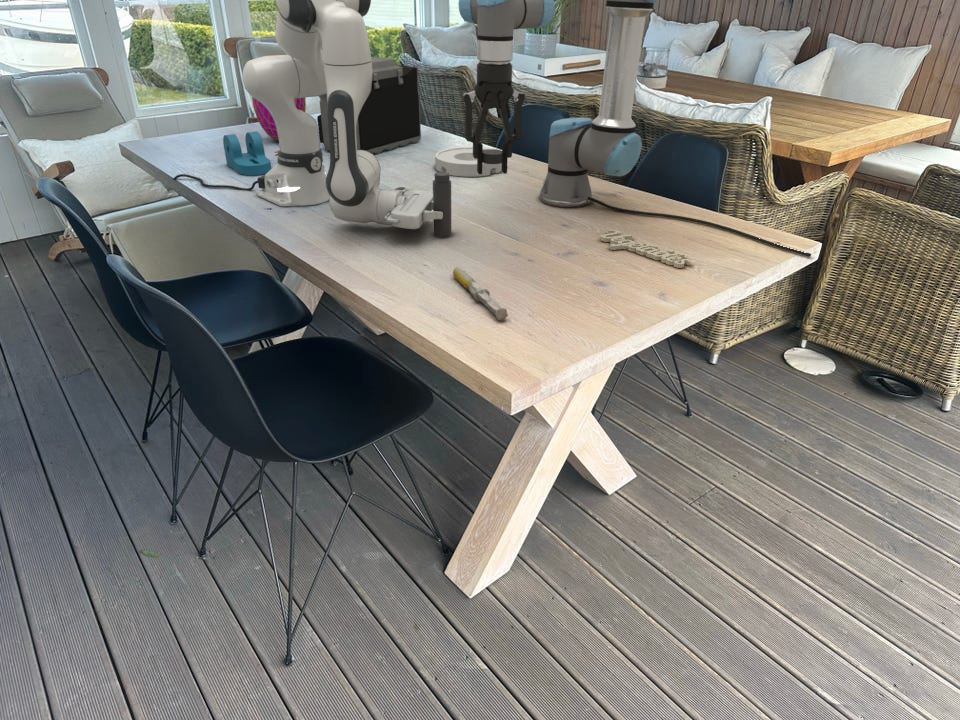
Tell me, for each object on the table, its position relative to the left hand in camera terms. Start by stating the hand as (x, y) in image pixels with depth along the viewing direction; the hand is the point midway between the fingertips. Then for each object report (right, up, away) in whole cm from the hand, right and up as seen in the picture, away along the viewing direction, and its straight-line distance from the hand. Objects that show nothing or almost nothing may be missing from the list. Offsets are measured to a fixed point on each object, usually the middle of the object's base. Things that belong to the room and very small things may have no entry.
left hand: (445, 211), depth 174 cm
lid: (+12, +9, -20) cm, 24 cm away
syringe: (+8, -25, -29) cm, 39 cm away
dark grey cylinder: (-1, -5, +3) cm, 6 cm away
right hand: (+11, +5, -18) cm, 22 cm away
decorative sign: (+48, -11, -6) cm, 50 cm away
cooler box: (-32, +43, +84) cm, 100 cm away
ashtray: (+5, +28, +59) cm, 65 cm away
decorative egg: (-67, +47, +91) cm, 122 cm away
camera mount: (-68, +26, +55) cm, 91 cm away
